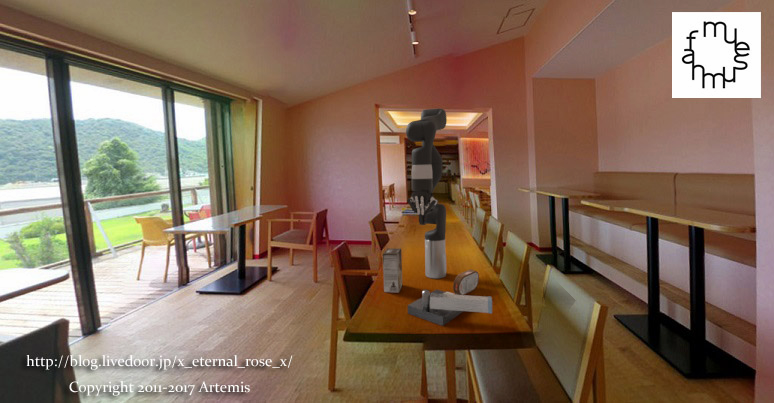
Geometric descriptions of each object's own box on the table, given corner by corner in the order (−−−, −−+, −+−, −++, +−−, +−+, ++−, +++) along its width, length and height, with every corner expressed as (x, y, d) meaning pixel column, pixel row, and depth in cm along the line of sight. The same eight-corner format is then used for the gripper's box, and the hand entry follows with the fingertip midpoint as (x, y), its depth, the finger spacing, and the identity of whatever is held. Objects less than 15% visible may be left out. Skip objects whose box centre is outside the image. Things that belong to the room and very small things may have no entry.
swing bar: (430, 309, 105) (430, 296, 104) (431, 304, 108) (431, 292, 107) (492, 313, 100) (492, 300, 100) (491, 309, 103) (491, 296, 103)
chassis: (436, 296, 124) (436, 273, 123) (469, 306, 115) (469, 281, 114) (407, 313, 111) (406, 287, 110) (442, 326, 102) (442, 297, 101)
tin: (473, 286, 134) (473, 266, 133) (480, 288, 132) (480, 268, 131) (452, 297, 124) (452, 275, 123) (459, 299, 122) (459, 277, 121)
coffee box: (388, 284, 139) (386, 247, 138) (402, 284, 138) (401, 248, 136) (383, 292, 131) (382, 253, 129) (399, 293, 129) (398, 254, 128)
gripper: (443, 176, 115) (443, 224, 117) (413, 177, 124) (414, 221, 126) (431, 177, 109) (432, 228, 111) (401, 177, 118) (402, 224, 120)
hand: (422, 224), depth 118 cm, fingers closed
